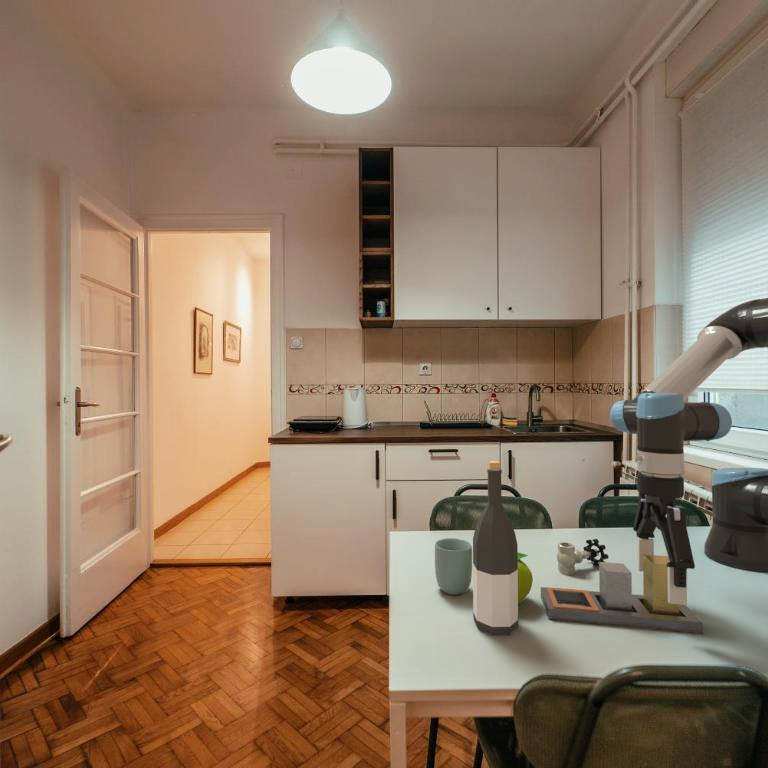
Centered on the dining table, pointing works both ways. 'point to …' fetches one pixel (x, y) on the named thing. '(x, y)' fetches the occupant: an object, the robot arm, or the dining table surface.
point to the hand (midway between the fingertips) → (660, 586)
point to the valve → (578, 555)
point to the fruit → (523, 578)
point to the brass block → (657, 586)
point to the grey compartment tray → (614, 612)
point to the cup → (453, 565)
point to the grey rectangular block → (615, 587)
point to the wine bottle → (495, 564)
